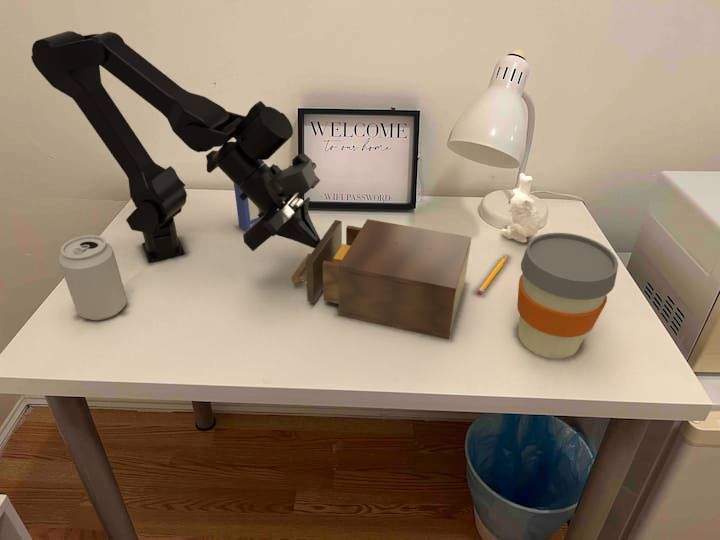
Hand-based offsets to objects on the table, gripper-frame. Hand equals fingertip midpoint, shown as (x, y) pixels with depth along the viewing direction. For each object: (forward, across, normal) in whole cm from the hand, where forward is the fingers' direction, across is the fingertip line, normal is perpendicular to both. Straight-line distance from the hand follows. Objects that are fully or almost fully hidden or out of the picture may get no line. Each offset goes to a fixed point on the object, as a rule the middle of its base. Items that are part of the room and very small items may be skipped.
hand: (319, 246), depth 92 cm
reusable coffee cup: (+32, -2, -21) cm, 38 cm away
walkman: (-8, +15, +19) cm, 25 cm away
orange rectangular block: (+8, 0, -1) cm, 8 cm away
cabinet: (+16, 0, -5) cm, 16 cm away
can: (-16, -18, +26) cm, 36 cm away
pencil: (+25, +12, -14) cm, 31 cm away
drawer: (+9, 0, 0) cm, 9 cm away
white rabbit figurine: (+27, +26, -16) cm, 41 cm away
